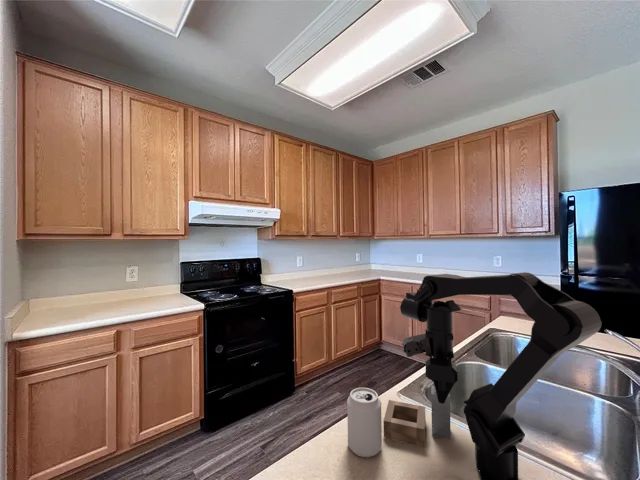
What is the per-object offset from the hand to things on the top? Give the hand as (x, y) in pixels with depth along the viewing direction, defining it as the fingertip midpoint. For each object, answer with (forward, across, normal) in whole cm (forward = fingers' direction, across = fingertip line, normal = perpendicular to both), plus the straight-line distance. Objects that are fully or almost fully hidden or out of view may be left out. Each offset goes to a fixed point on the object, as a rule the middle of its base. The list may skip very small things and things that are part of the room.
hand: (440, 392), depth 68 cm
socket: (+10, +2, -8) cm, 13 cm away
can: (+10, +11, -16) cm, 22 cm away
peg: (+10, 0, 0) cm, 10 cm away
